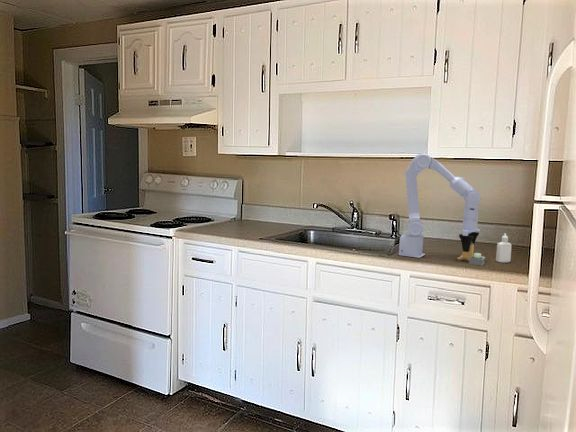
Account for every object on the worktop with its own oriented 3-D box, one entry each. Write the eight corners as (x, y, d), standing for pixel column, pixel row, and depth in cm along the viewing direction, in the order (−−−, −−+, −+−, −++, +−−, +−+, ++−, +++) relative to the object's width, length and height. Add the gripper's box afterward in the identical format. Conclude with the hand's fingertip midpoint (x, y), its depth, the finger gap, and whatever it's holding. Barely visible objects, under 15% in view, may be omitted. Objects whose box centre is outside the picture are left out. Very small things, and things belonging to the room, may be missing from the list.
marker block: (462, 257, 202) (463, 242, 201) (464, 255, 205) (465, 241, 204) (470, 258, 200) (472, 243, 199) (473, 257, 203) (474, 242, 202)
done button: (472, 260, 194) (473, 253, 193) (474, 259, 196) (474, 252, 196) (479, 261, 192) (480, 254, 192) (481, 260, 195) (482, 253, 194)
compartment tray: (456, 259, 201) (456, 257, 201) (462, 255, 209) (462, 253, 209) (480, 262, 196) (480, 260, 196) (485, 258, 204) (485, 256, 204)
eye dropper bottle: (510, 263, 196) (513, 234, 194) (496, 262, 197) (498, 233, 196) (509, 261, 200) (512, 233, 198) (495, 260, 202) (497, 232, 200)
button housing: (469, 263, 194) (469, 258, 193) (472, 261, 198) (472, 255, 197) (482, 265, 191) (482, 259, 191) (484, 263, 195) (485, 257, 195)
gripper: (476, 221, 192) (473, 254, 194) (484, 217, 204) (481, 248, 206) (458, 219, 196) (456, 252, 198) (467, 215, 208) (464, 246, 209)
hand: (468, 250), depth 202 cm, fingers open, 7 cm apart
